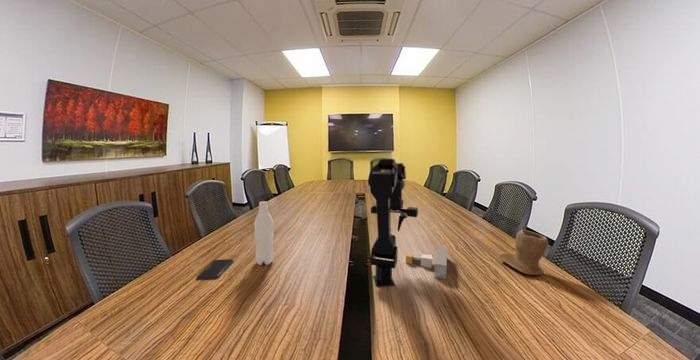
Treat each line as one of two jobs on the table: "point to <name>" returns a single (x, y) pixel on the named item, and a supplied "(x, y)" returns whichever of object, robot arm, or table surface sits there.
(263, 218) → the water bottle
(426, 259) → the plug
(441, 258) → the housing
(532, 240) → the brown hat
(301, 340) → the table surface
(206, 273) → the phone
